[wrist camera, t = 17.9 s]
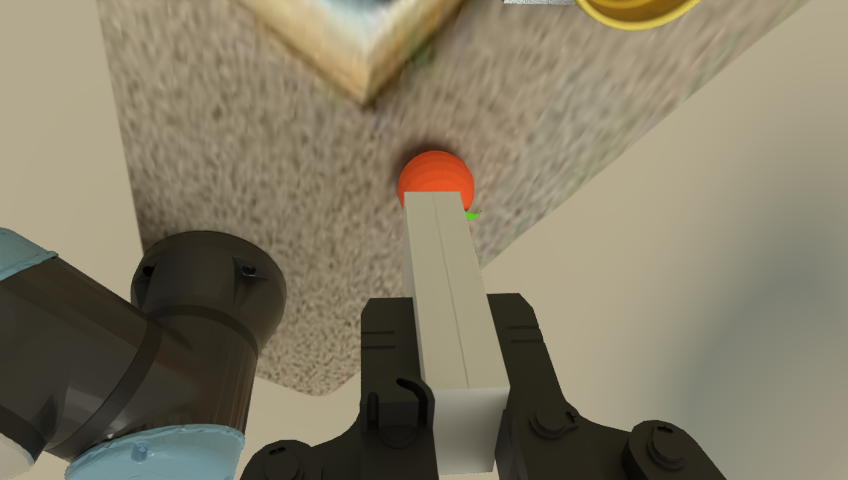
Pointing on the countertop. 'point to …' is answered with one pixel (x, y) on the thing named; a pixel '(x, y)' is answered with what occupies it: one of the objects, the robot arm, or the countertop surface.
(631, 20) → the plant pot
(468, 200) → the clementine
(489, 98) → the countertop surface
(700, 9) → the countertop surface
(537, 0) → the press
